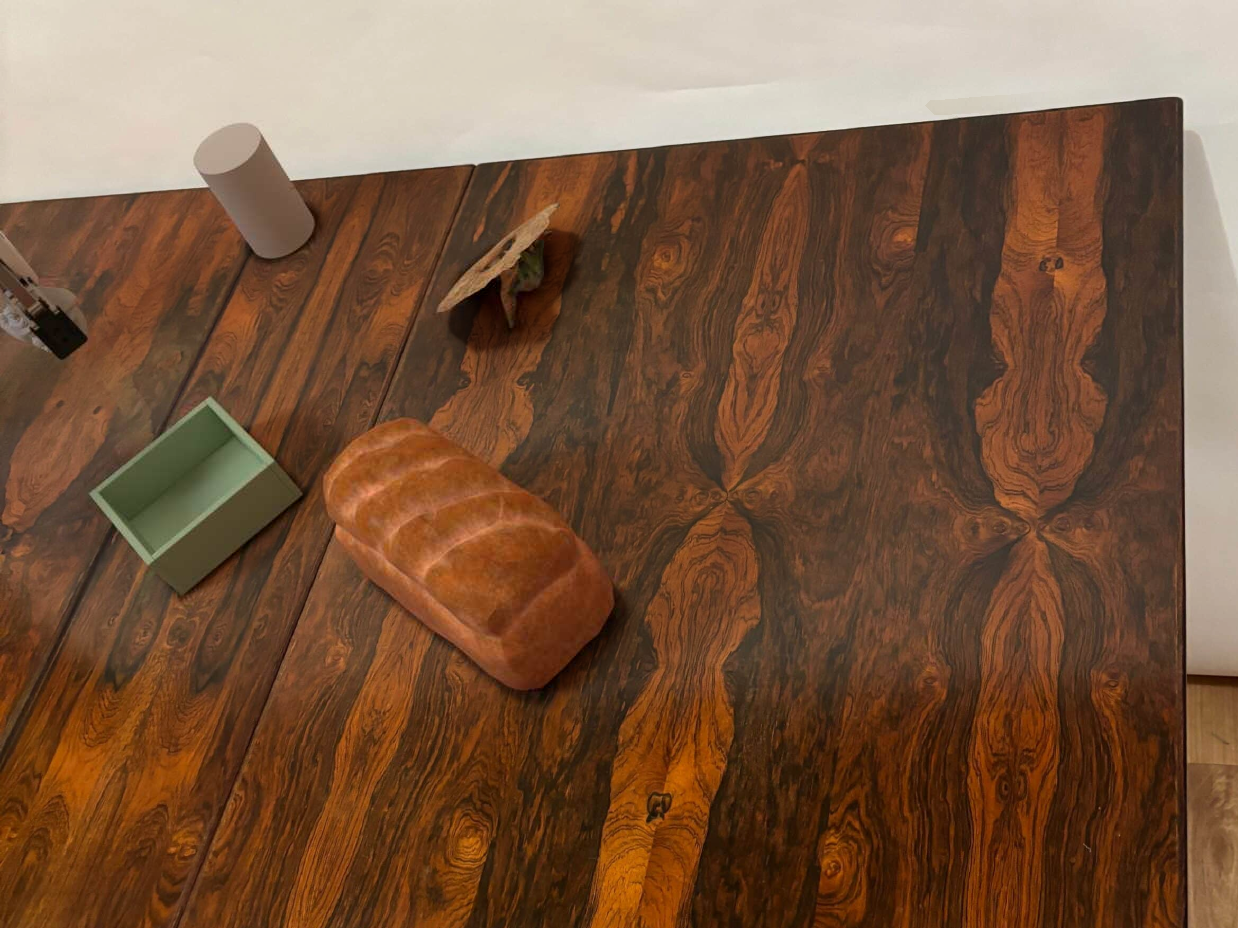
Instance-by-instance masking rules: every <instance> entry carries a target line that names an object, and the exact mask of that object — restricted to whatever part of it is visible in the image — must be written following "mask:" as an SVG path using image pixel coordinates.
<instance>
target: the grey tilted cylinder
mask: <svg viewBox="0 0 1238 928" xmlns="http://www.w3.org/2000/svg"><path fill="white" fill-rule="evenodd" d="M193 166H194V168H195V169H196V170H197V172H198V173H199V175H200V176H201V178H202V179H203V181H204V182H205V183H206V185H207V186H208V187H209V189H210V190H211V192H212V193H213V195H214V196H215V197H216V199H217V201H218V202H219V204H220V205H221V206H222V209H224V210H225V212H226V214H227V215H228V216H229V218H230V220H232V222H233V224H234V225H235V227H236V228H237V229H238V231H239V232H240V234H241V235H242V237H243V238H244V239H245V241H246V242H247V243H248V245H249V246H250V248H251V249H252V250H253V252H254V253H255V254H256V255H257V256H258V257H261V258H264V259H278V258H282V257H285V256H288V255H290V254H292V253H293V252H295V251H296V250H298V249H300V248H301V247H302V246H303V245H304V244H305V243H306V242H307V241H308V240H309V239H310V237H311V236H312V234H313V232H314V229H315V218H314V216H313V214H312V212H311V210H309V208H308V206H307V205H306V203H305V202H304V200H303V198H302V197H301V195H300V193H299V192H298V190H297V189H296V188H295V185H294V184H293V182H292V180H291V179H290V178H289V176H288V174H287V172H286V171H285V169H284V167H283V166H282V164H281V163H280V161H279V160H278V158H277V157H276V155H275V153H274V151H273V150H272V149H271V147H270V145H269V144H268V142H267V140H266V139H265V136H263V134H262V132H261V131H260V129H259V128H258V127H257V126H256V125H254V124H252V123H248V122H237V123H232V124H228V125H226V126H223V127H221V128H219V129H217V130H215V131H213V132H212V133H210V134H209V135H208V136H207V137H206V138H204V139H203V140H202V141H201V142H200V144H199V145H198V147H197V148H196V150H195V152H194V156H193Z"/></svg>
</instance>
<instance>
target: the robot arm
mask: <svg viewBox="0 0 1238 928" xmlns="http://www.w3.org/2000/svg"><path fill="white" fill-rule="evenodd" d="M36 286H39V277H38V275H37V274H36V273H35V271H34V270H33V269H32V267H31V266H30V265H29V263H28V262H27V261H26V260H25V259H24V257H23V256H22V254H21V253H20V252H19V251H18V250H17V248H16V247H15V245H13V243H12V242H11V241H10V240H9V238H8V237H7V236H6V234H5V233H4V232H3V231H2V230H1V229H0V313H3V311H2V310H4V309H5V308H7V307H8V306H7V303H8V304H9V305H10V306H11V307H12V308H13V309H14V310H15V311H16V312H17V313H18V314H19V315H20V316H21V317H22V318H23V319H24V320H25V321H26V322H27V323H28V324H29V325H30V327H29V329H30V330H31V331H32V332H33V333H34V334H35V335H36V336H37V337H38V338H39V339H40V340H41V341H42V342H43V343H44V344H45V345H46V346H47V347H48V348H49V349H50V350H51V351H52V352H53V353H52V354H53V355H54V356H55V357H56V358H57V359H58V360H60V361H64V360H66V359H67V358H68V357H69V356H71V355H72V354H73V353H75V352H76V351H78V350H79V349H80V348H81V347H82V346H84V345H85V344H86V343H87V342H88V340H89V338H88V335H87V336H86V335H85V334H84V333H83V332H82V331H81V330H80V329H79V327H78V326H77V325H76V324H75V323H74V322H73V321H72V320H71V319H70V318H69V317H68V316H67V315H66V313H65V312H64V311H63V310H62V309H61V308H60V307H59V306H58V305H57V306H56V307H55V306H54V305H53V304H52V303H51V301H50V300H49V299H48V298H47V297H46V296H45V295H44V294H43V293H42V292H41V291H40V290H39V289H38V288H37V287H36ZM7 290H8V291H9V292H10V293H11V294H12V295H11V296H10V297H8V296H7V295H6V294H5V292H6V291H7ZM32 291H33V292H34V293H35V294H36V295H37V296H38V297H39V300H37V299H36V298H35V297H34V296H33V295H32V294H31V292H32ZM6 302H7V303H6ZM18 302H20V303H21V304H22V305H23V306H24V307H25V308H26V310H23V309H22V308H21V307H20V306H19V305H18V304H17V303H18ZM78 348H79V349H78Z"/></svg>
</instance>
